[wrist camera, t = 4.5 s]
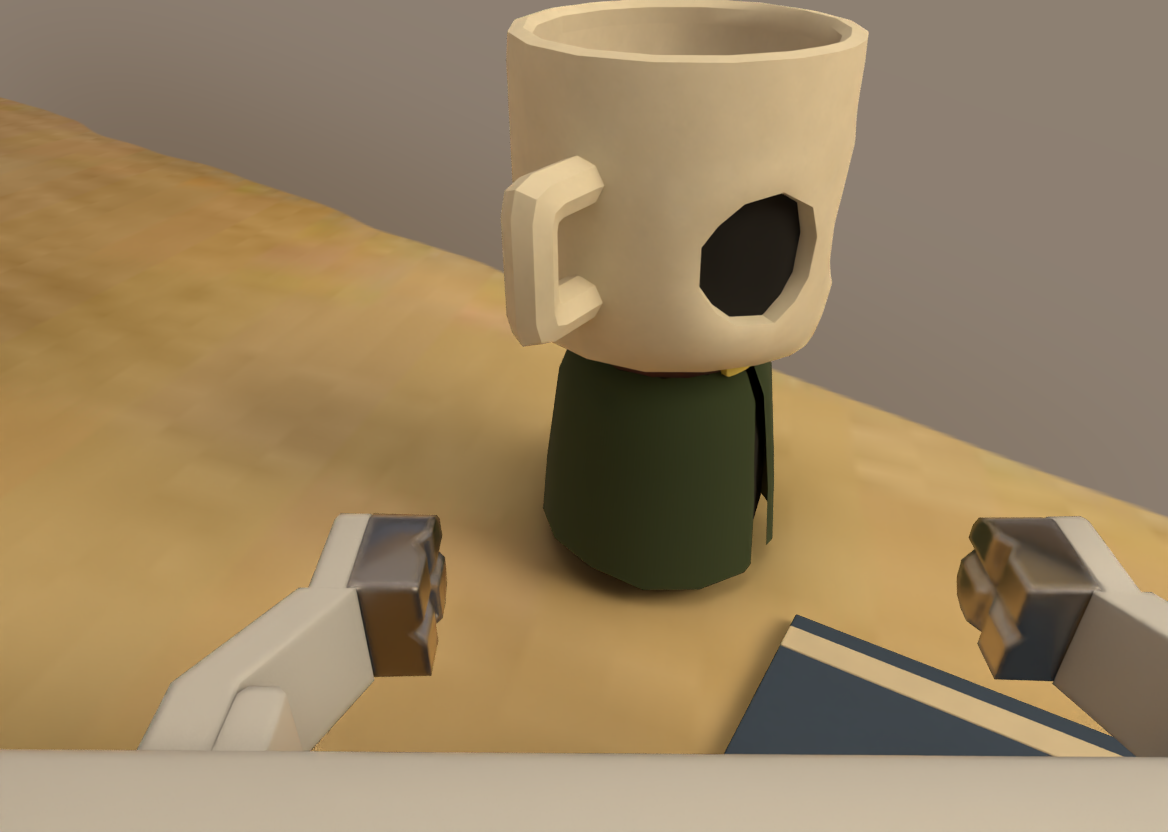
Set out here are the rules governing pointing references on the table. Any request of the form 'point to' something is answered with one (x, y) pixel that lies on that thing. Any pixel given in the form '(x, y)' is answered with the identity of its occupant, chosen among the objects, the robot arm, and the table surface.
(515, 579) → the table surface
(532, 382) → the table surface
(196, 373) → the table surface
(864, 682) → the napkin
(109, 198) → the table surface
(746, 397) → the character mug
